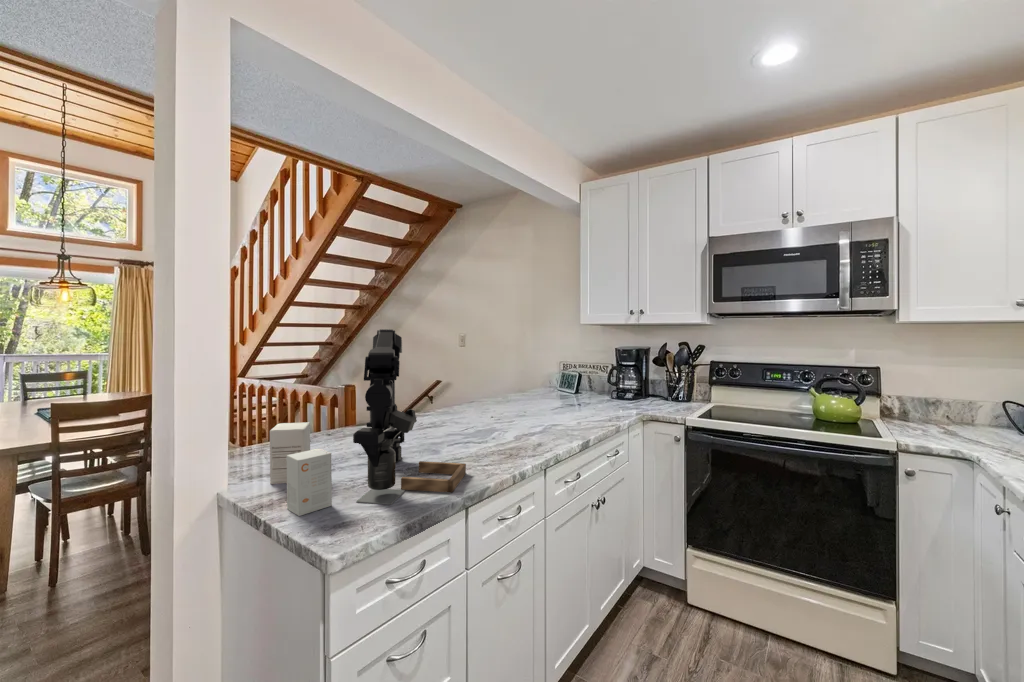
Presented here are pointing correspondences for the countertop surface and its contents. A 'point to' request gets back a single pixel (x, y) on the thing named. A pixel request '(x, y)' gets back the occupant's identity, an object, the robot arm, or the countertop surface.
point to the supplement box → (286, 447)
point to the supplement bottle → (383, 468)
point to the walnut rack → (435, 484)
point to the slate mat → (381, 496)
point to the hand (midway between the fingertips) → (381, 462)
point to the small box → (309, 481)
